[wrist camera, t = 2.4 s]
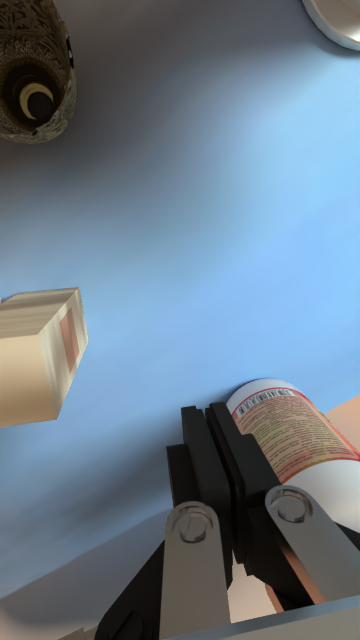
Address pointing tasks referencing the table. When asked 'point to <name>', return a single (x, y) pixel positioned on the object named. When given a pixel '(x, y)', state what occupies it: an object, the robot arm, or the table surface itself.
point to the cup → (34, 70)
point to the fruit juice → (301, 445)
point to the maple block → (39, 353)
